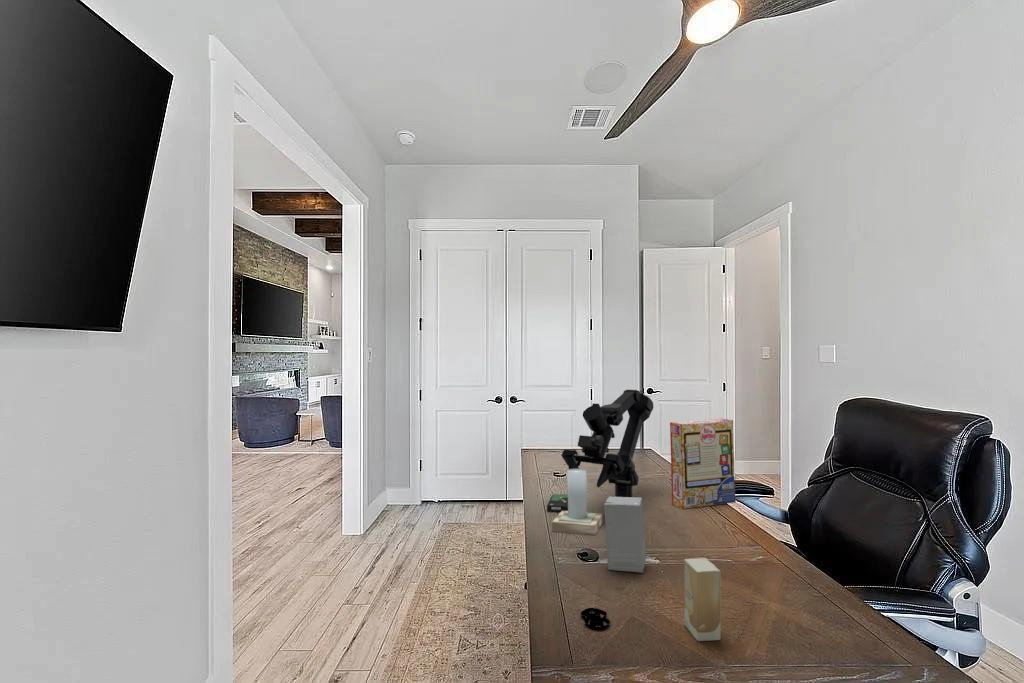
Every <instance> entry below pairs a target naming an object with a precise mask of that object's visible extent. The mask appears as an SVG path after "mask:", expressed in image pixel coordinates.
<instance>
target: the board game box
mask: <svg viewBox="0 0 1024 683" xmlns="http://www.w3.org/2000/svg"><path fill="white" fill-rule="evenodd" d="M669 433H670V434H669V436H670V438H669V440H670V466H671V467H670V469H671V470H670V471H671V472H670V473H671V477H670V478H671V505H672V506H674V507H676V508H678V509H681V510H685V509H691V508H692V509H693V508H698V507H699V508H700V507H701V508H702V507H709V506H715V505H716V506H717V505H725V504H733V503H734V504H735V503H736V488H735V487H736V483H735V482H736V481H735V452H734V450H735V449H734V420H733V419H728V418H722V417H721V418H712V419H699V420H698V419H697V420H687V421H686V420H685V421H672V422H669Z"/></svg>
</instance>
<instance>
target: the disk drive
mask: <svg viewBox="0 0 1024 683" xmlns="http://www.w3.org/2000/svg"><path fill="white" fill-rule="evenodd" d="M546 510H547V511H546V512H547V513H557V514H560V512H561V511H562V510H563V511H568V493H567V494H564V493H563V494H561V493H559V494H558V493H557V494H556V493H553V494H551V497H550V499H549V500H548V502H547V505H546Z"/></svg>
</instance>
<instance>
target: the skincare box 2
mask: <svg viewBox="0 0 1024 683" xmlns="http://www.w3.org/2000/svg"><path fill="white" fill-rule="evenodd" d="M683 563H684V625H685V627H686V628H687V630H688V632H690V634H691V635H692V636H693V638H695V640H696V641H697V642H705V641H707V642H708V641H710V642H711V641H720V640H721V635H722V634H721V630H722V629H721V625H722V624H721V570H720V569H719V568H718V567H717V566H716V565H715V564H714V563H712V562H711V561H710V560H709V559H708V558H706V557H701V558H685V559H684V561H683Z"/></svg>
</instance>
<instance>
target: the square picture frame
mask: <svg viewBox="0 0 1024 683" xmlns="http://www.w3.org/2000/svg"><path fill="white" fill-rule="evenodd" d="M587 513H588V517H587V518H583V519H573V518H570V517H568V511H563V510H562V511H561V512H560V513H558V515H557V516H556V517H555V518H554V519H553V521H552V522H551V531H552V532H555V533H557V532H558V533H564V534H566V533H568V534H577V535H591V536H596V534H597V533H598V531H599V529H600V528H601V526H602V524H603V513H599V512H588V511H587Z"/></svg>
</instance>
